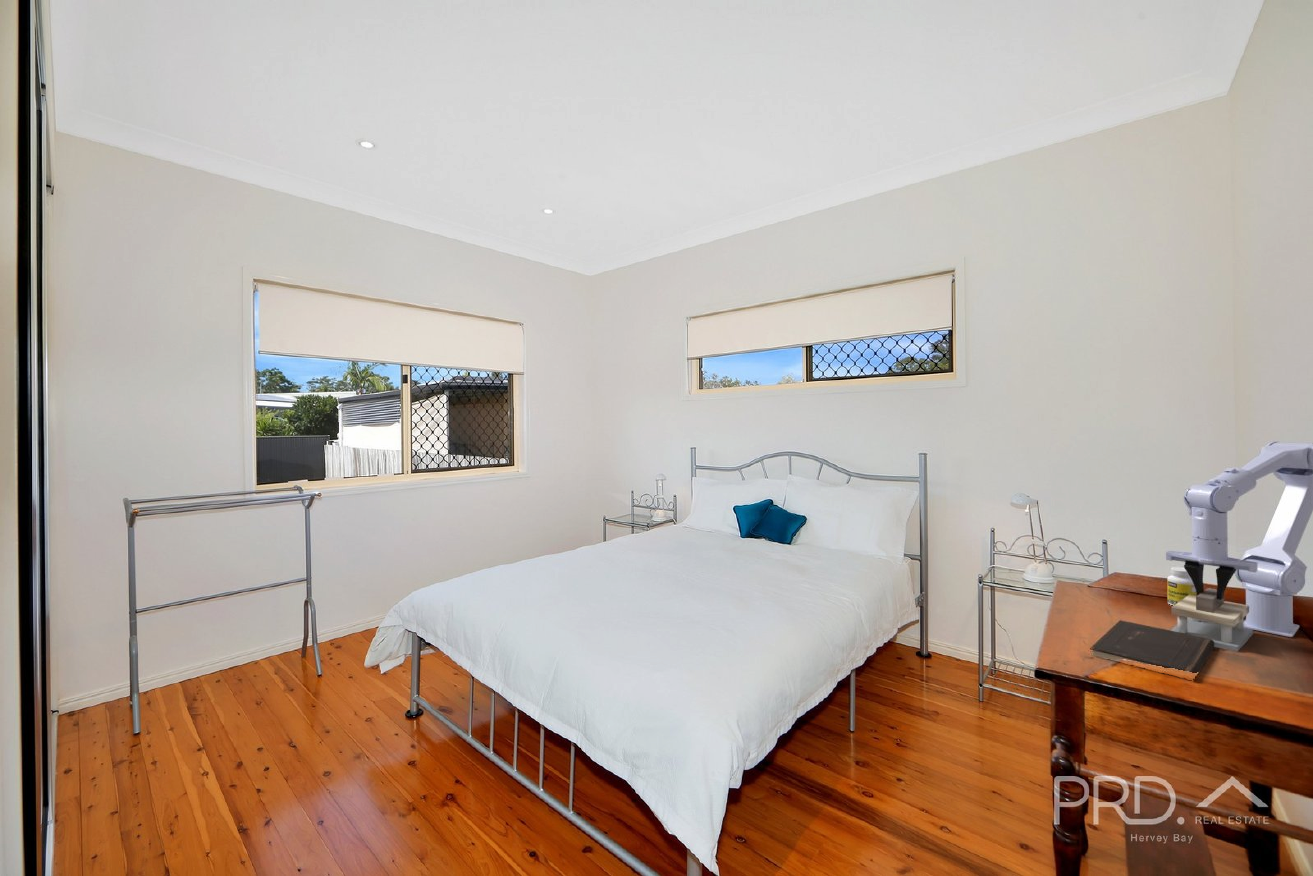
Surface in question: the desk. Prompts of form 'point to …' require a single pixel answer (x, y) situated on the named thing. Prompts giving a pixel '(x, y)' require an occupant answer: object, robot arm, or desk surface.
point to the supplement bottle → (1179, 585)
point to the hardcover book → (1154, 646)
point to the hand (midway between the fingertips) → (1210, 596)
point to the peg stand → (1215, 632)
